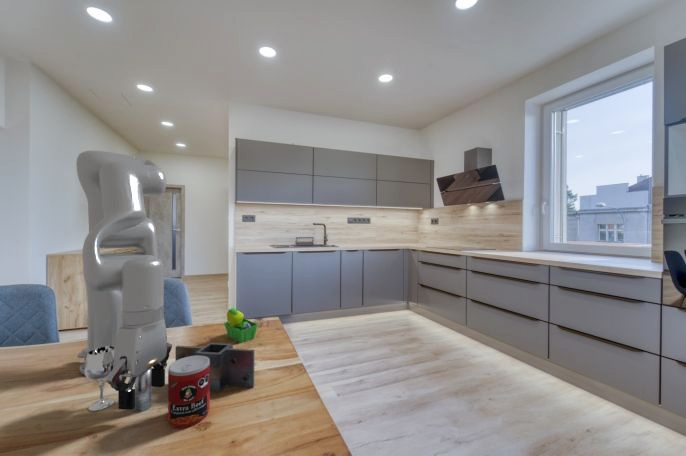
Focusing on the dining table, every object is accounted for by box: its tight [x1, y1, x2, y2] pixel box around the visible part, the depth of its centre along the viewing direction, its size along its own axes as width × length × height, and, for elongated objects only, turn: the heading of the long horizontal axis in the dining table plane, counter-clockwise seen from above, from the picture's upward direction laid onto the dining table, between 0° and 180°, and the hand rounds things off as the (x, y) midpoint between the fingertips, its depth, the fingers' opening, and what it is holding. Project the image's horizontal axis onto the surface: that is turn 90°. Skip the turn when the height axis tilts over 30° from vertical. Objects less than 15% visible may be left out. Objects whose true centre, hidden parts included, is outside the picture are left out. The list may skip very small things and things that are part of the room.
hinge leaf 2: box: [195, 342, 255, 393], centre depth 74 cm, size 13×6×9 cm, turn 83°
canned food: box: [167, 355, 211, 429], centre depth 62 cm, size 8×8×11 cm
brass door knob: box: [134, 358, 157, 413], centre depth 64 cm, size 5×5×10 cm
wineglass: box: [84, 346, 115, 412], centre depth 65 cm, size 6×6×12 cm
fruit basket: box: [223, 307, 259, 344], centre depth 105 cm, size 11×9×11 cm
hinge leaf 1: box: [174, 345, 226, 379], centre depth 74 cm, size 13×6×9 cm, turn 83°
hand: (143, 396), depth 64 cm, fingers open, 7 cm apart
